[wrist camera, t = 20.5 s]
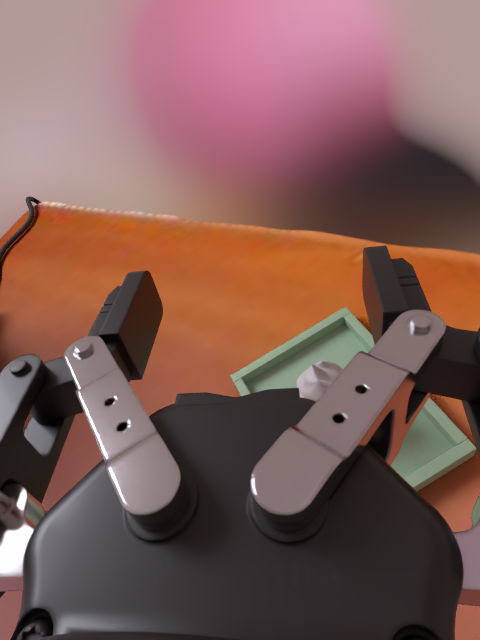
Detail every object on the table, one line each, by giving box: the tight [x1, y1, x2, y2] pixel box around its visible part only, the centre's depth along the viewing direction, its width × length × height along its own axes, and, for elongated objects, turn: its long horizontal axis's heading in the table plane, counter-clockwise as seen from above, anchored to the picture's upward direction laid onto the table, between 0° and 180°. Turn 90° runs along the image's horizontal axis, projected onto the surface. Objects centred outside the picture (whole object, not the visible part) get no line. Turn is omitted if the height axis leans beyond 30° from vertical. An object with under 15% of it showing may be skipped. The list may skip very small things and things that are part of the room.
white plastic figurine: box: [297, 361, 343, 401], centre depth 29 cm, size 5×7×8 cm
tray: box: [231, 307, 477, 491], centre depth 32 cm, size 15×12×2 cm
